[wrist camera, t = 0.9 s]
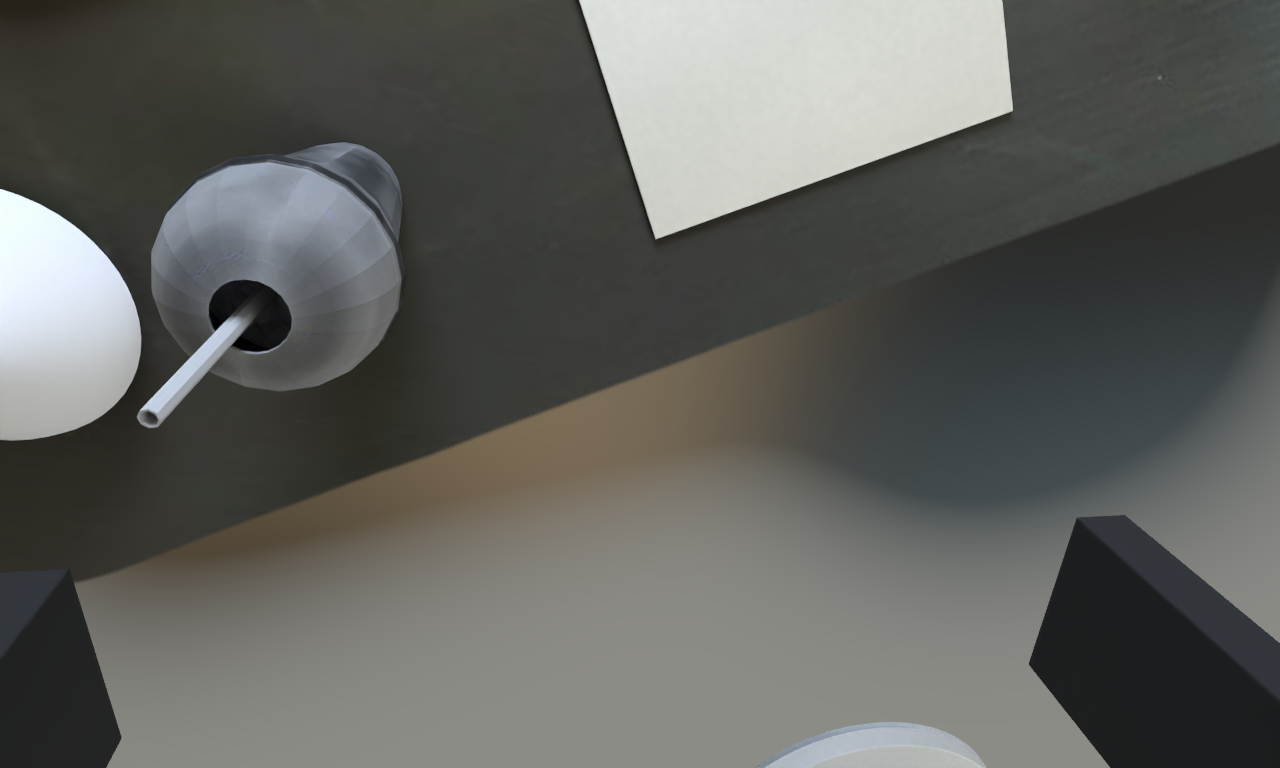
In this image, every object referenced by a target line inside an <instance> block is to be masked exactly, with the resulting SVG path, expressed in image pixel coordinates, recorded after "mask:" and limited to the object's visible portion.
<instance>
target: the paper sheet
mask: <svg viewBox="0 0 1280 768" xmlns="http://www.w3.org/2000/svg"><path fill="white" fill-rule="evenodd" d="M579 2H580V5H581V8H582V11H583V15H584V18H585V21H586V24H587V27H588V30H589V33H590V36H591V40H592V43H593V46H594V49H595V52H596V55H597V58H598V62H599V65H600V68H601V71H602V74H603V77H604V80H605V83H606V87H607V90H608V93H609V96H610V99H611V102H612V105H613V108H614V112H615V115H616V118H617V121H618V124H619V127H620V130H621V133H622V137H623V140H624V143H625V146H626V149H627V152H628V155H629V158H630V162H631V165H632V168H633V171H634V174H635V177H636V180H637V183H638V187H639V190H640V193H641V196H642V199H643V202H644V205H645V208H646V212H647V215H648V218H649V221H650V224H651V227H652V230H653V234H654V237H655V239H658V238H661V237H664V236H666V235H669V234H672V233H675V232H678V231H680V230H683V229H686V228H689V227H692V226H694V225H697V224H700V223H703V222H705V221H708V220H711V219H714V218H717V217H719V216H722V215H725V214H728V213H730V212H733V211H736V210H739V209H742V208H744V207H747V206H750V205H753V204H756V203H758V202H761V201H764V200H767V199H769V198H772V197H775V196H778V195H781V194H783V193H786V192H789V191H792V190H794V189H797V188H800V187H803V186H806V185H808V184H811V183H814V182H817V181H819V180H822V179H825V178H828V177H831V176H833V175H836V174H839V173H842V172H845V171H847V170H850V169H853V168H856V167H858V166H861V165H864V164H867V163H870V162H872V161H875V160H878V159H881V158H883V157H886V156H889V155H892V154H895V153H897V152H900V151H903V150H906V149H908V148H911V147H914V146H917V145H920V144H922V143H925V142H928V141H931V140H934V139H936V138H939V137H942V136H945V135H947V134H950V133H953V132H956V131H959V130H961V129H964V128H967V127H970V126H972V125H975V124H978V123H981V122H984V121H986V120H989V119H992V118H995V117H998V116H1000V115H1003V114H1006V113H1009V112H1011V111H1013V106H1012V96H1011V86H1010V75H1009V65H1008V55H1007V44H1006V34H1005V24H1004V13H1003V3H1002V0H579Z"/></svg>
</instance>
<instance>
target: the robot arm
mask: <svg viewBox="0 0 1280 768" xmlns="http://www.w3.org/2000/svg"><path fill="white" fill-rule="evenodd" d="M1029 665H1030V666H1031V668H1032V669H1033V670H1034V672H1035V673H1036V674H1037V675H1038V677H1039V678H1040V679H1041V680H1042V682H1043V683H1044V684H1045V685H1046V687H1047V688H1048V689H1049V690H1050V692H1051V693H1052V694H1053V695H1054V697H1055V698H1056V699H1057V701H1058V702H1059V703H1060V704H1061V706H1062V707H1063V708H1064V709H1065V711H1066V712H1067V713H1068V715H1069V716H1070V717H1071V718H1072V720H1073V721H1074V722H1075V723H1076V725H1077V726H1078V727H1079V728H1080V730H1081V731H1082V732H1083V734H1084V735H1085V736H1086V737H1087V739H1088V740H1089V741H1090V742H1091V744H1092V745H1093V746H1094V747H1095V749H1096V750H1097V751H1098V752H1099V754H1100V755H1101V756H1102V757H1103V759H1104V760H1105V761H1106V763H1107V764H1108V765H1109V766H1110V768H1280V643H1279V642H1277V641H1276V640H1275V639H1274V638H1273V637H1271V636H1270V635H1269V634H1268V633H1267V632H1265V631H1264V630H1263V629H1262V628H1261V627H1259V626H1258V625H1257V624H1256V623H1254V622H1253V621H1252V620H1251V619H1250V618H1248V617H1247V616H1246V615H1245V614H1244V613H1242V612H1241V611H1240V610H1239V609H1238V608H1236V607H1235V606H1234V605H1233V604H1231V603H1230V602H1229V601H1228V600H1227V599H1225V598H1224V597H1223V596H1222V595H1221V594H1219V593H1218V592H1217V591H1216V590H1215V589H1213V588H1212V587H1211V586H1210V585H1208V584H1207V583H1206V582H1205V581H1204V580H1202V579H1201V578H1200V577H1199V576H1198V575H1196V574H1195V573H1194V572H1193V571H1192V570H1190V569H1189V568H1188V567H1187V566H1185V565H1184V564H1183V563H1182V562H1180V560H1178V559H1177V558H1176V557H1175V556H1173V555H1172V554H1171V553H1170V552H1169V551H1167V550H1166V549H1165V548H1164V547H1163V546H1161V545H1160V544H1159V543H1158V542H1157V541H1155V540H1154V539H1153V538H1152V537H1150V536H1149V535H1148V534H1147V533H1146V532H1144V531H1143V530H1142V529H1141V528H1140V527H1138V526H1137V525H1136V524H1135V523H1133V522H1132V521H1131V520H1130V519H1128V517H1126V516H1125V515H1120V516H1102V517H1101V516H1100V517H1080V518H1077V519H1076V522H1075V525H1074V528H1073V531H1072V535H1071V537H1070V540H1069V543H1068V546H1067V549H1066V553H1065V556H1064V559H1063V561H1062V564H1061V567H1060V571H1059V574H1058V577H1057V580H1056V583H1055V586H1054V589H1053V592H1052V595H1051V598H1050V601H1049V604H1048V607H1047V610H1046V613H1045V616H1044V619H1043V622H1042V625H1041V628H1040V631H1039V634H1038V637H1037V640H1036V643H1035V646H1034V650H1033V653H1032V656H1031V659H1030V662H1029ZM120 740H121V735H120V731H119V728H118V725H117V722H116V719H115V715H114V712H113V709H112V705H111V702H110V699H109V696H108V692H107V689H106V686H105V683H104V680H103V676H102V673H101V670H100V666H99V663H98V660H97V657H96V653H95V650H94V647H93V644H92V641H91V638H90V634H89V631H88V628H87V624H86V621H85V618H84V615H83V612H82V608H81V605H80V602H79V598H78V595H77V592H76V589H75V585H74V582H73V579H72V576H71V573H70V569H59V570H40V571H20V572H0V768H106V767H107V765H108V763H109V761H110V759H111V757H112V755H113V753H114V751H115V750H116V748H117V746H118V744H119V742H120Z"/></svg>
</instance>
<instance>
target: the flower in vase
mask: <svg viewBox="0 0 1280 768" xmlns="http://www.w3.org/2000/svg"><path fill="white" fill-rule="evenodd" d="M140 353H141V331H140V322H139V318H138V314H137V311H136V307H135V304H134V301H133V299H132V297H131V294H130V292H129V289H128V287H127V286H126V284H125V282H124V281H123V279H122V277H121V275H120V274H119V272H118V271H117V269H116V268H115V267H114V265H113V264H112V263H111V261H110V260H109V259H108V257H107V256H106V255H105V254H104V253H103V252H102V251H101V250H100V249H99V247H98V246H97V245H96V244H95V243H94V242H93V241H92V240H91V239H89V238H88V237H87V236H86V235H85V234H84V233H83V232H81V231H80V230H79V229H78V228H77V227H75V226H74V225H72V224H71V223H70V222H68V221H67V220H65V219H64V218H63V217H61V216H60V215H58V214H56V213H55V212H53V211H51V210H49V209H47V208H46V207H44V206H42V205H40V204H38V203H36V202H34V201H31V200H29V199H27V198H25V197H22V196H20V195H17V194H14V193H11V192H8V191H5V190H2V189H0V440H30V439H36V438H42V437H48V436H52V435H57V434H61V433H64V432H67V431H71V430H74V429H77V428H79V427H82V426H84V425H86V424H88V423H91V422H92V421H94V420H95V419H97V418H99V417H100V416H102V415H104V414H105V413H106V412H107V411H108V410H109V409H111V408H112V407H113V406H114V405H115V404H116V403H117V402H118V401H119V400H120V398H121V397H122V396H123V395H124V394H125V392H126V391H127V389H128V387H129V386H130V384H131V382H132V380H133V378H134V375H135V373H136V370H137V368H138V363H139V358H140Z"/></svg>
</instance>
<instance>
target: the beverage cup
mask: <svg viewBox="0 0 1280 768" xmlns="http://www.w3.org/2000/svg"><path fill="white" fill-rule="evenodd" d="M402 206H403V204H402V195H401V190H400V185H399V181H398V179H397V177H396V176H395V174H394V172H393V170H392V169H391V167H390V166H389V165H388V164H387V163H386V162H385V161H384V160H383V159H382V158H381V157H380V156H379V155H378V154H377V153H375V152H373V151H371V150H369V149H367V148H365V147H364V146H361V145H356V144H351V143H346V142H342V143H333V144H324V145H317V146H314V147H311V148H308V149H305V150H301V151H298V152H295V153H292V154H289V155H285V156H279V155H274V154H268V155H259V156H250V157H241V158H232V159H230V160H228V161H225V162H223V163H221V164H219V165H217V166H215V167H213V168H211V169H209V170H207V171H204V172H202V173H200V174H198V175H197V176H196V177H195V178H194V179H193V180H192V181H191V182H190V183H189V184H188V185H187V186H186V187H185V189H184V190H183V191H182V192H181V193H180V194H179V195H178V196H177V197H176V198H175V199H174V200H173V201H172V204H171V206H170V209H169V211H168V212H167V214H166V216H165V218H164V221H163V223H162V226H161V228H160V231H159V234H158V236H157V239H156V241H155V244H154V247H153V249H152V252H151V275H152V294H153V297H154V300H155V302H156V305H157V308H158V310H159V313H160V316H161V319H162V321H163V324H164V326H165V327H166V328H167V329H168V331H169V332H170V333H171V335H172V336H173V337H174V339H175V340H176V341H177V342H178V344H179V345H180V346H181V348H182V349H183V350H184V351H185V353H186V354H187V355H189V356H190V357H191V358H190V359H189V360H188V361H187V362H186V363H185V364H184V365H183V366H182V367H181V368H180V369H179V370H178V371H177V372H176V373H175V374H174V375H173V376H172V377H171V378H170V379H169V381H168V382H167V383H166V384H165V385H164V386H163V387H162V388H161V389H160V390H159V391H158V392H157V393H156V394H155V395H154V396H153V397H152V398H151V399H150V400H149V401H148V402H147V403H146V404H145V406H144V407H143V408H142V409H141V410H140V411H139V413H138V415H137V419H138V420H139V422H140V424H141V425H143V426H146V427H148V428H154V427H158V426H159V425H160V424H161V423H162V422H163V421H164V419H165V418H166V417H167V416H168V415H169V414H170V413H171V412H172V411H173V409H174V408H175V407H176V406H177V405H178V404H179V403H180V402H181V401H182V399H183V398H184V397H185V396H186V395H187V394H188V393H189V392H190V391H191V389H192V388H193V387H194V386H195V385H196V384H197V383H198V382H199V381H200V379H201V378H202V377H203V376H204V375H205V374H206V373H207V372H208V371H210V372H212V373H213V374H215V375H218V376H220V377H223V378H225V379H228V380H230V381H233V382H235V383H237V384H240V385H242V386H245V387H251V388H259V389H266V390H274V391H287V390H294V389H301V388H309V387H314V386H318V385H321V384H323V383H325V382H327V381H330V380H332V379H334V378H336V377H338V376H340V375H343V374H345V373H347V372H349V371H350V370H352V369H353V368H354V367H355V366H357V365H358V364H359V363H360V362H361V361H363V360H364V359H365V358H366V357H367V356H368V355H369V354H371V353H372V352H373V351H374V350H375V349H376V348H377V347H378V346H379V345H380V344H381V343H382V342H383V341H384V340H385V339H386V338H387V337H388V336H389V334H390V332H391V330H392V328H393V326H394V324H395V322H396V320H397V318H398V316H399V314H400V312H401V310H402V305H403V296H404V288H405V279H406V274H405V269H404V265H403V260H402V256H401V251H400V247H399V242H398V240H399V232H400V224H401V215H402Z"/></svg>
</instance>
